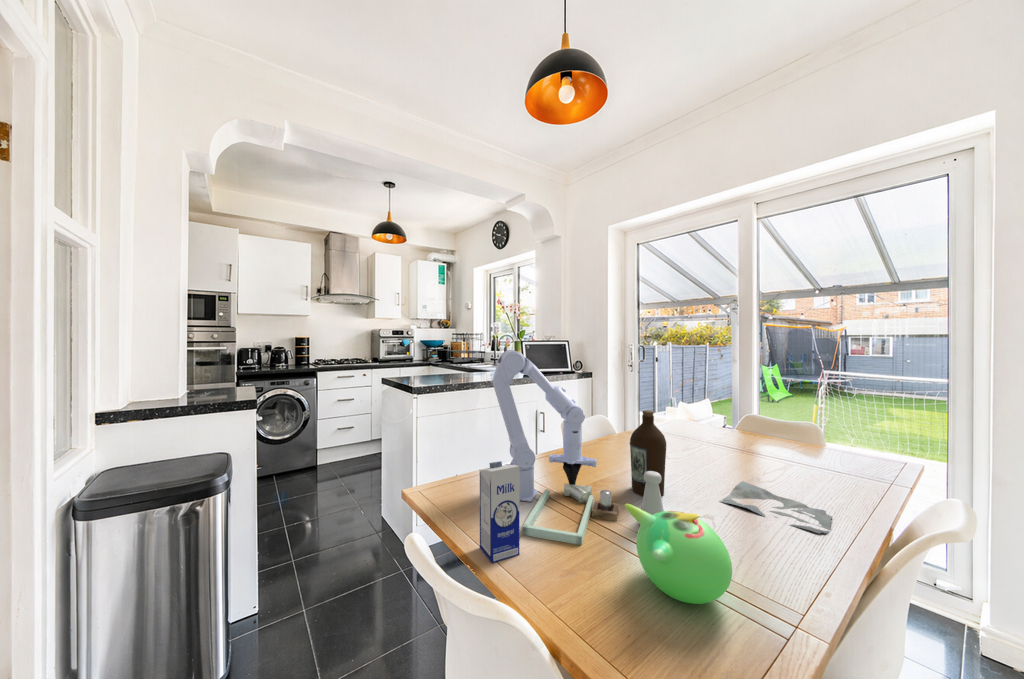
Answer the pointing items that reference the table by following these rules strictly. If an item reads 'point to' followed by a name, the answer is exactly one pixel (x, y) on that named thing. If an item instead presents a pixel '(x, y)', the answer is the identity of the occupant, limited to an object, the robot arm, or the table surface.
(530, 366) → the robot arm
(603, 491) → the pin
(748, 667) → the table surface
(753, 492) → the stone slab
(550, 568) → the table surface
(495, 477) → the milk carton
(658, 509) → the salt shaker
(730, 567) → the toy bird
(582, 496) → the pipe fitting
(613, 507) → the tan square frame
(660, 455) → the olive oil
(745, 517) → the table surface
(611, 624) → the table surface
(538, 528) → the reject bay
